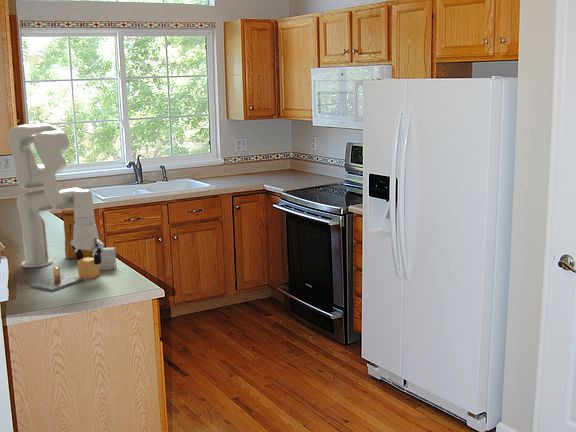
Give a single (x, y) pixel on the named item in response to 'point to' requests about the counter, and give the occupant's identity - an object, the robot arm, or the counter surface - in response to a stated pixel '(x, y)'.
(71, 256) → the coffee package
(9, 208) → the counter surface
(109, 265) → the medicine box
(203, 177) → the counter surface
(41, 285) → the base
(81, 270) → the light orange block
